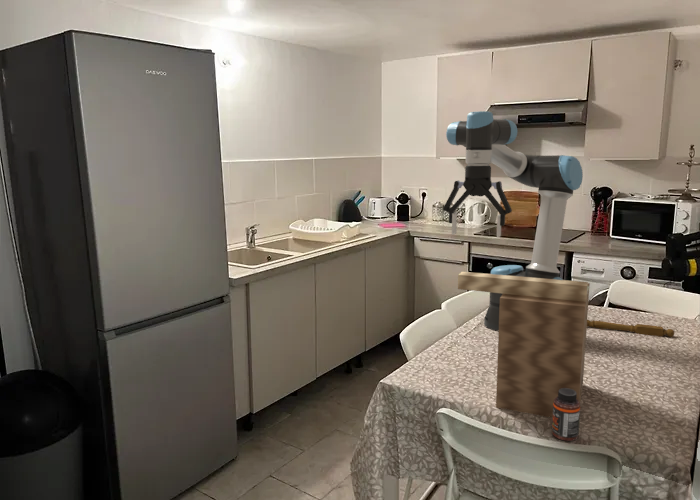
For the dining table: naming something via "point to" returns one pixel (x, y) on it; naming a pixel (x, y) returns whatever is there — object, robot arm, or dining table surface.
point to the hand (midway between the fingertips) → (476, 235)
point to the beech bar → (523, 286)
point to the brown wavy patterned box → (539, 351)
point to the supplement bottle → (566, 415)
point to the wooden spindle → (632, 328)
